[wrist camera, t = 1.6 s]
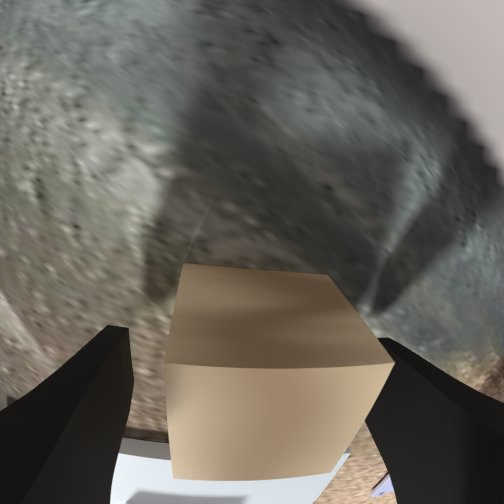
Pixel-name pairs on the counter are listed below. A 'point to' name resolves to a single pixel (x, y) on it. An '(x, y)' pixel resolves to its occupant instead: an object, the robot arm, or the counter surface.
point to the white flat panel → (200, 482)
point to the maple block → (266, 374)
